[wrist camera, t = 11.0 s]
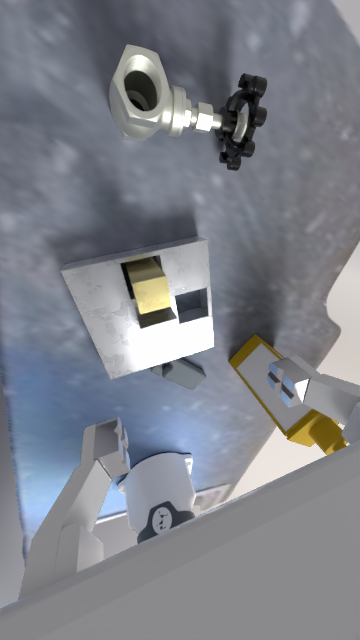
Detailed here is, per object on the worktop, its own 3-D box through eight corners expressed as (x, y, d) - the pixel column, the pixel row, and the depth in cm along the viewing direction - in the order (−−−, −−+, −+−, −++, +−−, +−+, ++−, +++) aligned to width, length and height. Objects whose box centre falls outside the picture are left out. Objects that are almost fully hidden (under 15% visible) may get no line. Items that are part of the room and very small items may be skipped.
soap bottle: (262, 380, 46) (377, 513, 27) (228, 361, 39) (347, 518, 20) (285, 357, 44) (425, 480, 25) (254, 333, 38) (412, 475, 18)
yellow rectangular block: (150, 256, 25) (166, 275, 19) (155, 280, 27) (171, 306, 21) (124, 261, 25) (131, 283, 18) (131, 286, 27) (140, 314, 20)
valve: (112, 159, 20) (221, 174, 24) (114, 144, 15) (256, 166, 18) (104, 59, 17) (233, 93, 20) (104, -9, 11) (279, 53, 15)
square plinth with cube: (206, 336, 34) (229, 368, 28) (110, 365, 32) (111, 409, 25) (198, 236, 26) (229, 247, 19) (65, 263, 23) (49, 288, 16)
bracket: (189, 383, 40) (193, 391, 38) (147, 363, 34) (149, 372, 32) (203, 369, 39) (207, 376, 37) (162, 346, 33) (165, 354, 32)
